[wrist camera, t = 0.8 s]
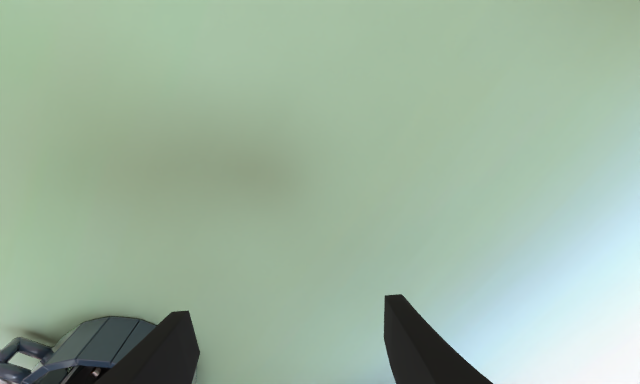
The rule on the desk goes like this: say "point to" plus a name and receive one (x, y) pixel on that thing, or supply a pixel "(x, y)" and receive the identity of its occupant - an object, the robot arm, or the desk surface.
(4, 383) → the power supply unit
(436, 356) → the robot arm
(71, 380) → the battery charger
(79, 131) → the desk surface
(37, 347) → the gray segmented ring
